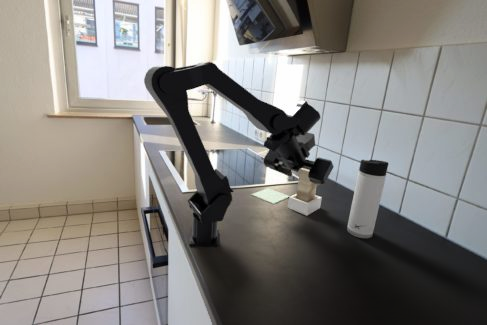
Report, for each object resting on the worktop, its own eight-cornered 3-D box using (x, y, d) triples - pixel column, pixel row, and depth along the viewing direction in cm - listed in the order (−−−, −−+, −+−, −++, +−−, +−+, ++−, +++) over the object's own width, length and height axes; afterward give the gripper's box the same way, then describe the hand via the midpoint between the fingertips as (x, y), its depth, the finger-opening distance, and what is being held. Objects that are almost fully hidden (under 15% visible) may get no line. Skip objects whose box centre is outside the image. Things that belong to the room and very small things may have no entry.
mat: (273, 204, 88) (273, 203, 88) (251, 195, 94) (251, 194, 94) (289, 197, 95) (289, 196, 95) (267, 188, 100) (267, 188, 100)
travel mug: (357, 240, 71) (374, 163, 66) (342, 227, 77) (356, 155, 72) (378, 238, 73) (396, 163, 67) (361, 225, 79) (376, 155, 73)
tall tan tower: (304, 212, 84) (310, 171, 81) (294, 208, 87) (300, 168, 83) (313, 207, 88) (319, 168, 85) (303, 203, 90) (308, 165, 87)
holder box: (306, 215, 82) (308, 204, 81) (287, 207, 86) (288, 197, 85) (320, 207, 88) (321, 197, 87) (301, 200, 92) (302, 190, 91)
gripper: (336, 129, 68) (347, 165, 80) (273, 118, 80) (290, 150, 91) (315, 166, 65) (330, 198, 76) (252, 149, 77) (273, 179, 88)
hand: (304, 179), depth 83 cm, fingers open, 9 cm apart
